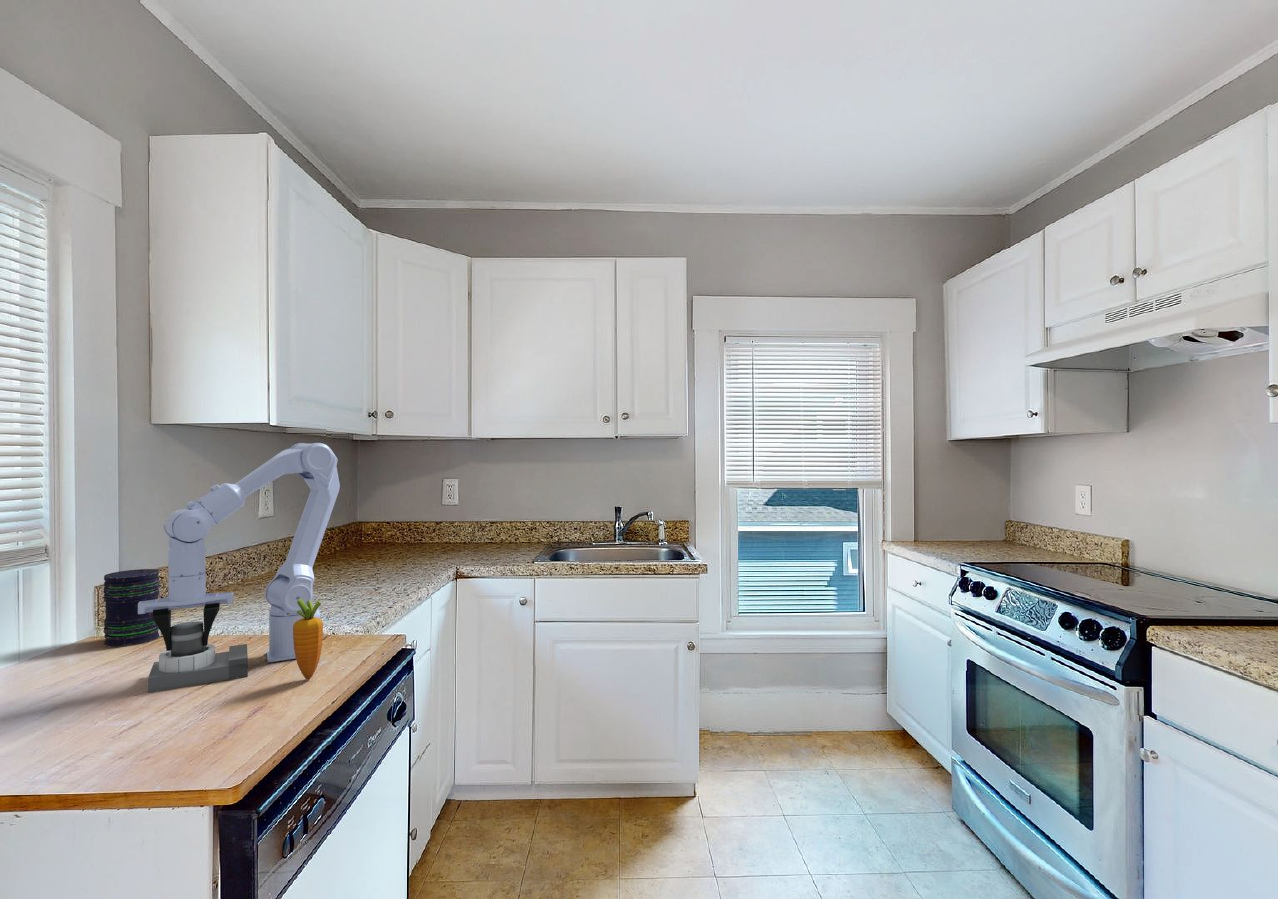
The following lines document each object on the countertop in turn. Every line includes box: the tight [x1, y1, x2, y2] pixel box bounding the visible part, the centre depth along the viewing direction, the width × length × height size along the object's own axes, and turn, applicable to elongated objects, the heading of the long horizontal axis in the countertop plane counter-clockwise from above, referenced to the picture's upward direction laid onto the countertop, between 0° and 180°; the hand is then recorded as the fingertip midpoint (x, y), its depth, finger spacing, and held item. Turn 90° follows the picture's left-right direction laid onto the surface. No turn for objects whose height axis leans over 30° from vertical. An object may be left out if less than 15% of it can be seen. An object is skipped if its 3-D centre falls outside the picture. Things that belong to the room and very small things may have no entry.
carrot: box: [293, 599, 324, 681], centre depth 120 cm, size 5×5×15 cm
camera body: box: [147, 643, 249, 693], centre depth 122 cm, size 15×10×5 cm, turn 122°
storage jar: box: [103, 568, 160, 648], centre depth 144 cm, size 10×10×15 cm
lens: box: [171, 621, 204, 657], centre depth 121 cm, size 5×5×7 cm
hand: (187, 646), depth 121 cm, fingers closed on lens, 5 cm apart
